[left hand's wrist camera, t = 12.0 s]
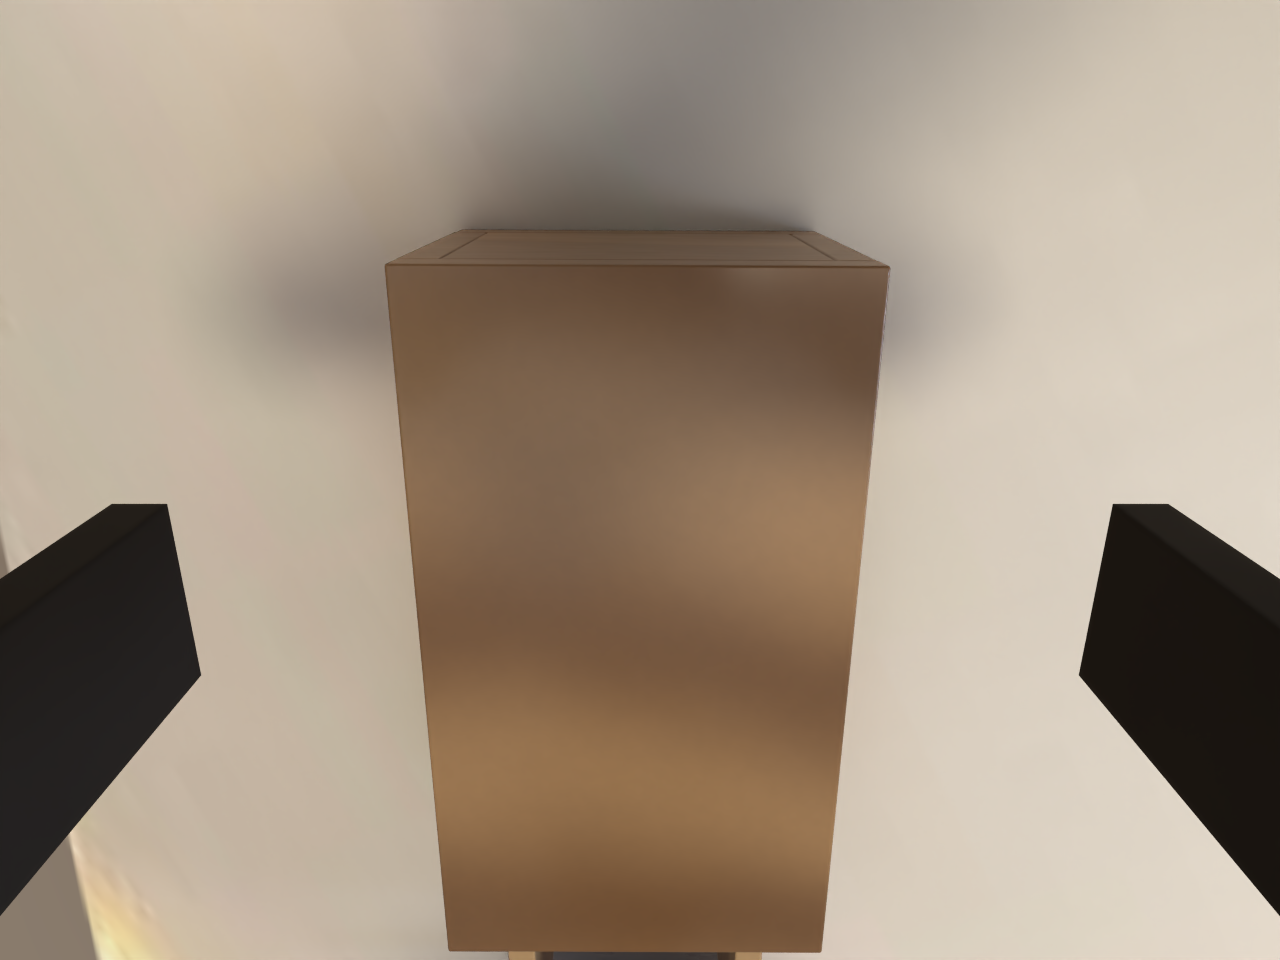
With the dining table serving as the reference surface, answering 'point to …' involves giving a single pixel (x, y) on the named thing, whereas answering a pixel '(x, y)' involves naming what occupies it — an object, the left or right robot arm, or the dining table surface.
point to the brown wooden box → (636, 575)
